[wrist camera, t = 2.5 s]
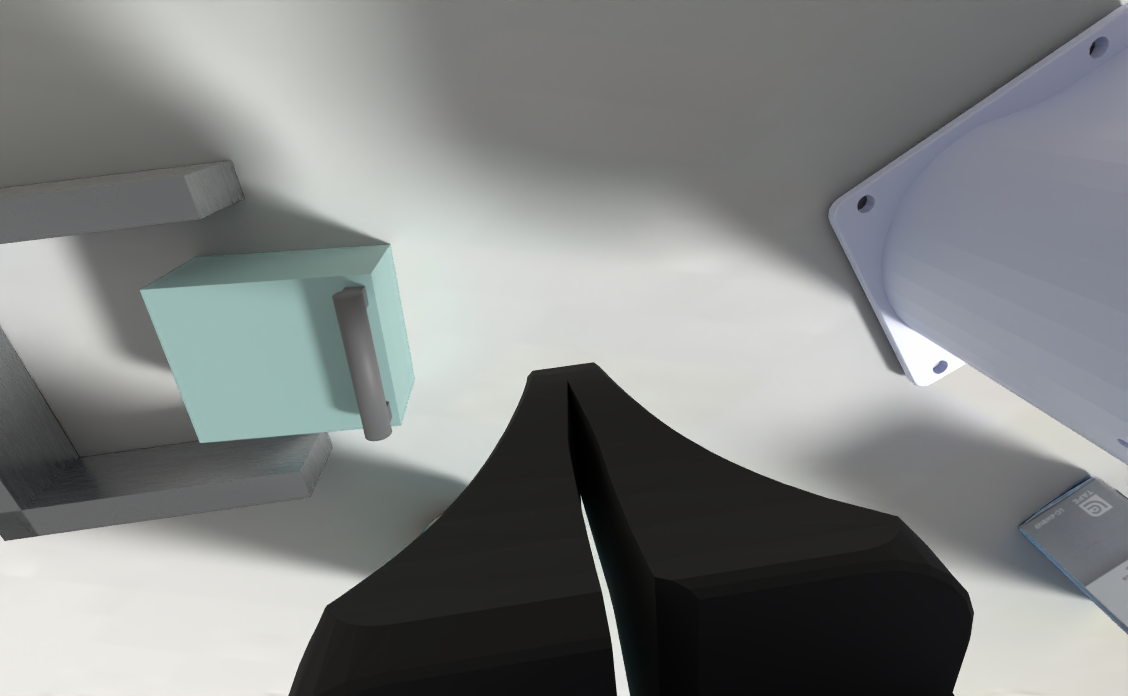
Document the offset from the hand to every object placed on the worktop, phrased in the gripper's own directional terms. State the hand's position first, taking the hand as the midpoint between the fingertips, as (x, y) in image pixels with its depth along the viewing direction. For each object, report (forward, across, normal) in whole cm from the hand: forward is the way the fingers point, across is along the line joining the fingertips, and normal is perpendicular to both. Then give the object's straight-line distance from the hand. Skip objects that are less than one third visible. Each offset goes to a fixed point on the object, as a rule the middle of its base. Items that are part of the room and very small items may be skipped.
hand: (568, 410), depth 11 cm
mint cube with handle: (+7, +7, 0) cm, 10 cm away
